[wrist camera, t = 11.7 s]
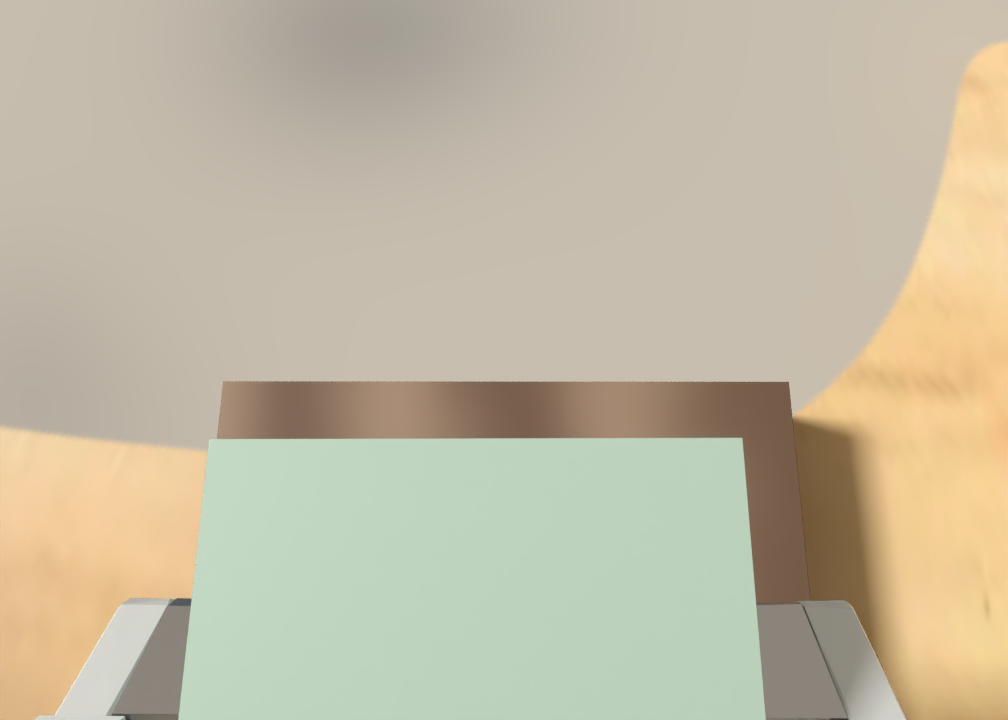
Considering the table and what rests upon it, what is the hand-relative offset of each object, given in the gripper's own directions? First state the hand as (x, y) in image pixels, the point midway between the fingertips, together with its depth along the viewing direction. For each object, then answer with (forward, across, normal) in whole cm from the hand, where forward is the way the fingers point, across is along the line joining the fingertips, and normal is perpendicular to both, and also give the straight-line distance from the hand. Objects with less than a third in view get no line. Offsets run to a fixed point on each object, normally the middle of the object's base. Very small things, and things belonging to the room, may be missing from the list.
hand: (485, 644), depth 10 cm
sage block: (+3, 0, +4) cm, 5 cm away
